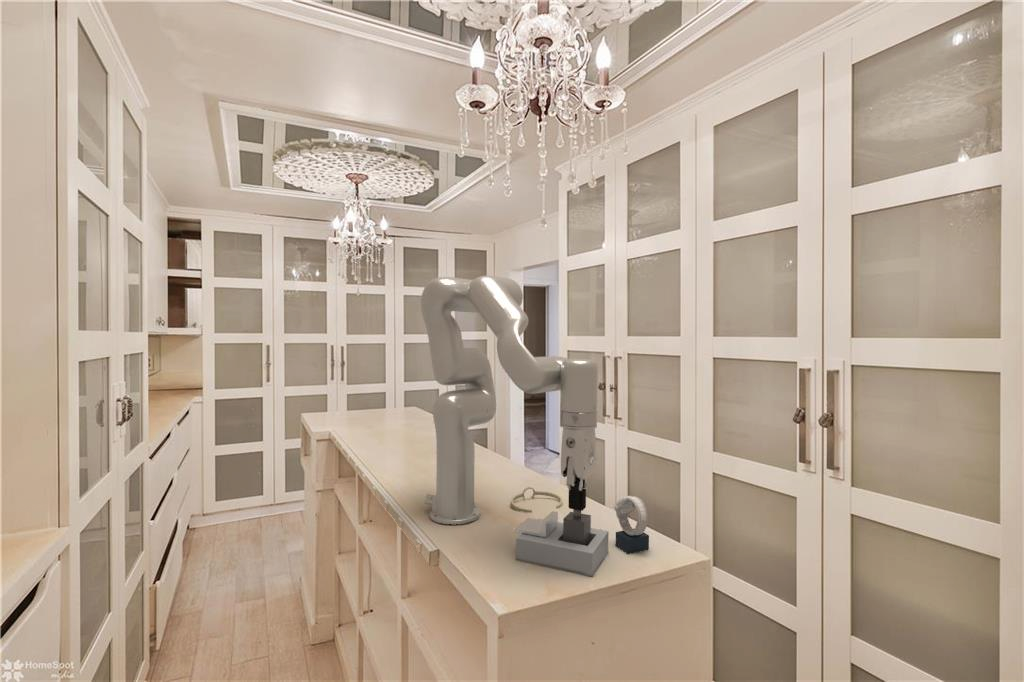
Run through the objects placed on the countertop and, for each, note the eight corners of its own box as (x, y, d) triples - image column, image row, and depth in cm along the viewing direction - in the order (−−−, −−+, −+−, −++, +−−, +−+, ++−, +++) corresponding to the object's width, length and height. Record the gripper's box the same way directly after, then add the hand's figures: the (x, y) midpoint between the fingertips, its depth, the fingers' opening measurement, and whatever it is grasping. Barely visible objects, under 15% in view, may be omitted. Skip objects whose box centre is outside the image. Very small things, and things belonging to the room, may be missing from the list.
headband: (519, 506, 128) (504, 490, 137) (518, 520, 129) (503, 503, 138) (569, 499, 134) (551, 483, 143) (568, 512, 135) (550, 496, 144)
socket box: (516, 560, 103) (516, 538, 103) (538, 538, 114) (538, 518, 113) (592, 576, 96) (592, 553, 96) (608, 552, 107) (608, 531, 107)
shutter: (514, 531, 105) (514, 517, 105) (527, 520, 112) (528, 506, 112) (545, 537, 102) (546, 522, 102) (557, 525, 109) (557, 511, 109)
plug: (563, 558, 102) (563, 510, 102) (570, 550, 106) (570, 504, 106) (583, 563, 100) (584, 514, 100) (590, 554, 104) (590, 507, 104)
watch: (630, 538, 114) (631, 490, 114) (654, 553, 107) (654, 501, 106) (610, 542, 112) (610, 493, 111) (632, 557, 104) (633, 504, 104)
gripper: (585, 427, 95) (584, 524, 95) (605, 415, 108) (604, 500, 109) (548, 423, 98) (546, 517, 98) (572, 412, 111) (571, 495, 112)
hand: (577, 508), depth 103 cm, fingers closed
